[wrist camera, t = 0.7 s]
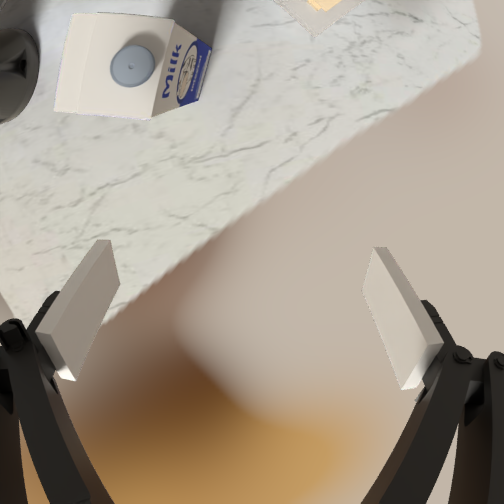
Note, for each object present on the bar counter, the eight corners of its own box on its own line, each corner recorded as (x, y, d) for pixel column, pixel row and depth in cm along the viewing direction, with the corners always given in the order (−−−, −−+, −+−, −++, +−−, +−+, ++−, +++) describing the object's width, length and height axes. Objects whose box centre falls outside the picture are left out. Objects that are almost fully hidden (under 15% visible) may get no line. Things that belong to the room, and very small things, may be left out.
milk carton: (158, 38, 30) (70, 11, 13) (212, 47, 31) (166, 13, 14) (145, 93, 33) (51, 113, 16) (197, 102, 34) (140, 125, 17)
